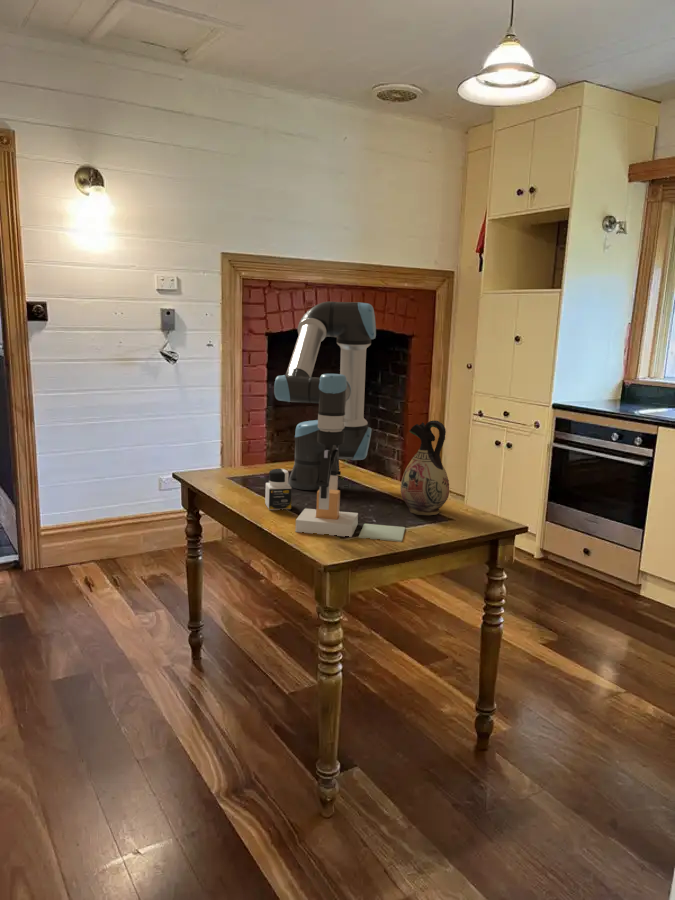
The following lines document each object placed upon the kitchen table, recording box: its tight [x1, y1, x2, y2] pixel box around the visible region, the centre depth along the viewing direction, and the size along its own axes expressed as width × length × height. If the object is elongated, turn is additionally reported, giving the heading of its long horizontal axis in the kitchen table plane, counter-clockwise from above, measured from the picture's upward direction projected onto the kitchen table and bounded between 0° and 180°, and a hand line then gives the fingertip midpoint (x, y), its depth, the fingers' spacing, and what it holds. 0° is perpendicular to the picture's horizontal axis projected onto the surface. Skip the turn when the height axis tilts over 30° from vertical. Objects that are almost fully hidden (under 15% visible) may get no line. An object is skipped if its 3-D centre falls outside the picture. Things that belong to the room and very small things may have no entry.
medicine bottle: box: [264, 468, 293, 511], centre depth 215 cm, size 7×7×12 cm
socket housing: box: [295, 507, 359, 538], centre depth 197 cm, size 12×16×4 cm
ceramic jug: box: [400, 420, 450, 516], centre depth 214 cm, size 17×15×30 cm
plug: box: [316, 489, 341, 520], centre depth 196 cm, size 4×6×11 cm, turn 80°
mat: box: [358, 523, 406, 543], centre depth 195 cm, size 12×12×1 cm
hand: (328, 502), depth 196 cm, fingers open, 13 cm apart
